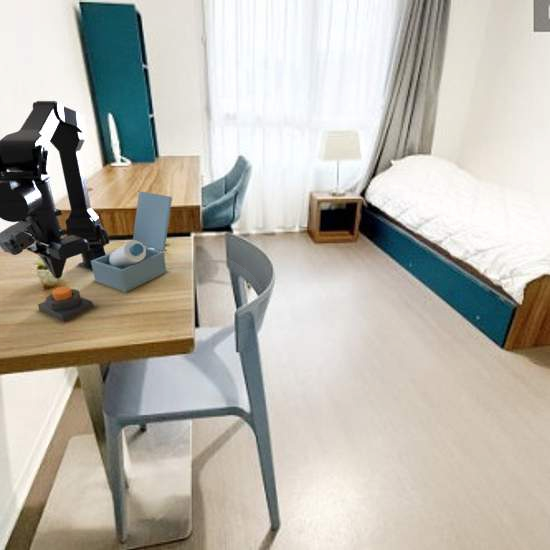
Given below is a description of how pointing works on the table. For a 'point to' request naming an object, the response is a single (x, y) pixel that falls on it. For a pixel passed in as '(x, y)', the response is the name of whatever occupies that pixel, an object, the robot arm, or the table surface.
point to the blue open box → (129, 271)
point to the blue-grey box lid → (152, 220)
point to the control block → (65, 306)
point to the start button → (62, 293)
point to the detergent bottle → (127, 254)
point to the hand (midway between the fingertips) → (58, 277)
